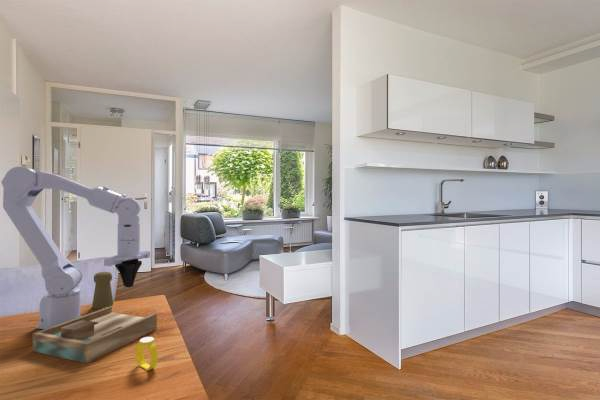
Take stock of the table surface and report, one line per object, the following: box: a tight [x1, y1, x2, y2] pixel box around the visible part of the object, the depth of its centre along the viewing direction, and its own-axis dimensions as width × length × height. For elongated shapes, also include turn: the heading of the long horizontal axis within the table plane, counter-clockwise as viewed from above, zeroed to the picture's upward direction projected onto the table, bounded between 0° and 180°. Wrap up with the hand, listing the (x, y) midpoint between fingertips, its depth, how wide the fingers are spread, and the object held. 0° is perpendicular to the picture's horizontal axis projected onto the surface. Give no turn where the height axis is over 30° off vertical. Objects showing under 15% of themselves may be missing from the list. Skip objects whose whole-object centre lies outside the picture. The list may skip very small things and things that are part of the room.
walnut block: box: [61, 320, 94, 340], centre depth 77 cm, size 4×5×3 cm
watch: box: [135, 336, 159, 372], centre depth 68 cm, size 6×3×6 cm, turn 55°
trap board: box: [31, 306, 158, 364], centre depth 82 cm, size 17×20×4 cm
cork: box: [91, 271, 114, 310], centre depth 107 cm, size 6×6×11 cm
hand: (128, 286), depth 96 cm, fingers closed
